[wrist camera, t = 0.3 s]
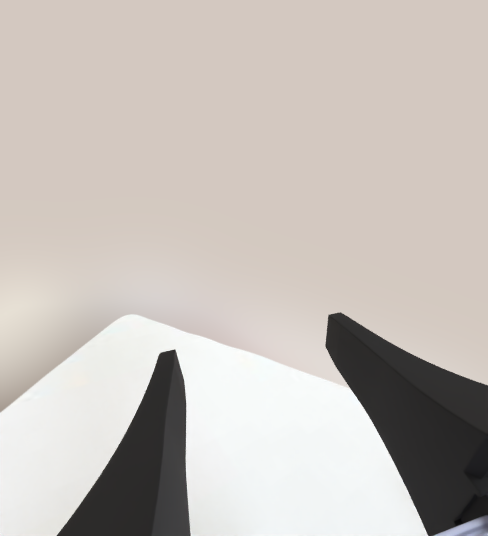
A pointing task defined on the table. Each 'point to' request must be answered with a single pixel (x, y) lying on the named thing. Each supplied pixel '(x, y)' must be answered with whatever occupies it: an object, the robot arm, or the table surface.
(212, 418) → the table surface
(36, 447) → the table surface
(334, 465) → the table surface
